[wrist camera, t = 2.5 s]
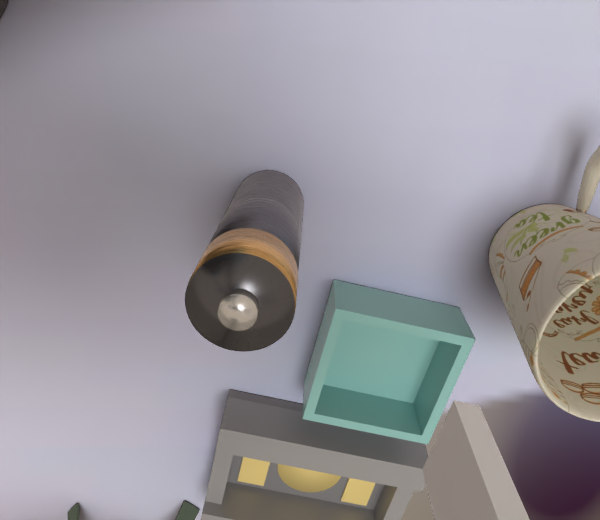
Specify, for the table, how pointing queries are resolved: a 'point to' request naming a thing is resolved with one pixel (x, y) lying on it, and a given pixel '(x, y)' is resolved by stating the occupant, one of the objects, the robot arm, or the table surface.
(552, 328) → the mug
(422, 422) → the tray
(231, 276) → the aa cell
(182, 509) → the camera
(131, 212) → the table surface
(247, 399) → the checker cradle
